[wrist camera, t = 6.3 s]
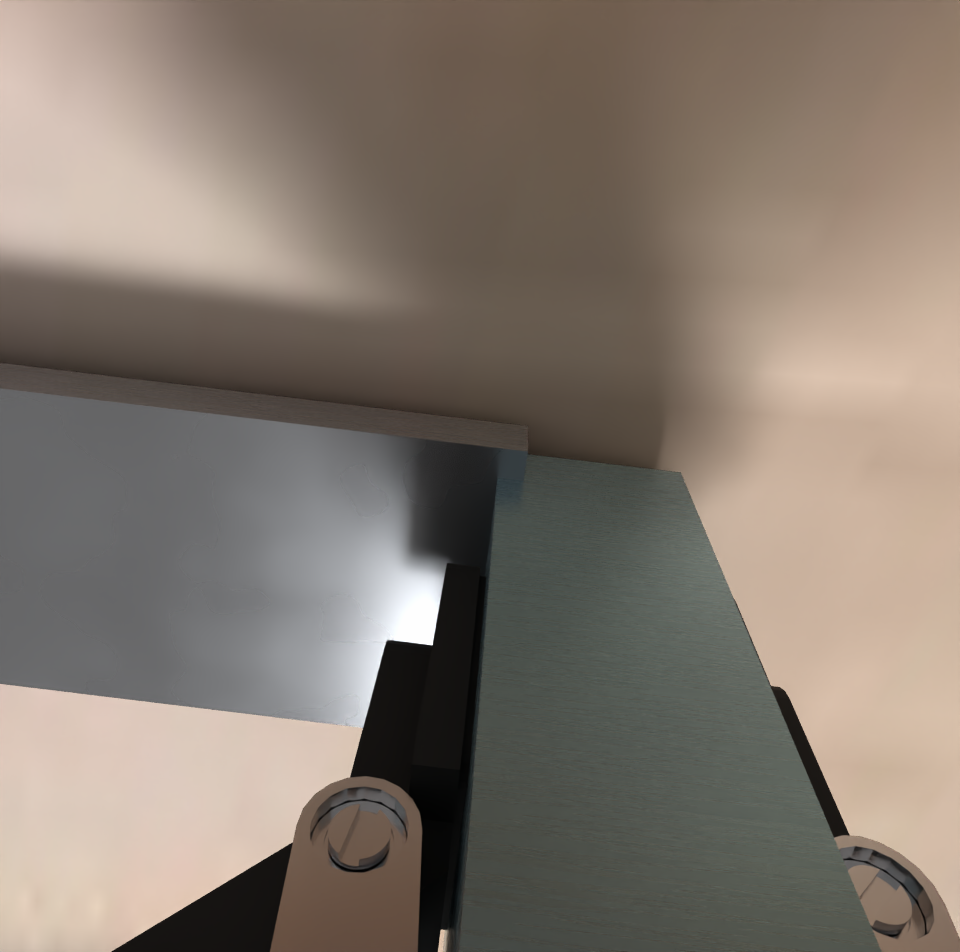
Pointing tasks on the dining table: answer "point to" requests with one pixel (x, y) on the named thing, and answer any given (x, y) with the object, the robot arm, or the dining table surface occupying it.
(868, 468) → the dining table surface
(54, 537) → the grey l-shaped piece
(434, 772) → the robot arm
